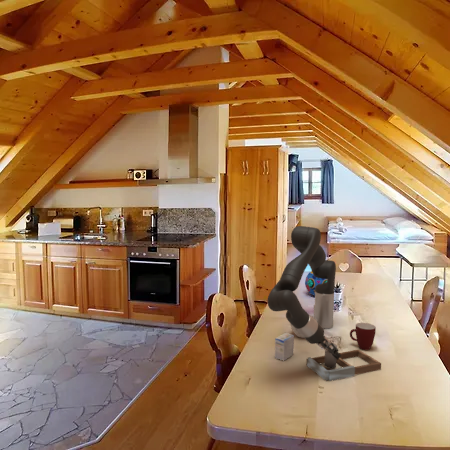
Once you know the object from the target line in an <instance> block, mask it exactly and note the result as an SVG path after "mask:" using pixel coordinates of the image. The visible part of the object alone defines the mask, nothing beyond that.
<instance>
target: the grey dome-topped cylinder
mask: <svg viewBox="0 0 450 450" xmlns="http://www.w3.org/2000/svg"><path fill="white" fill-rule="evenodd" d="M333 344H334V346H335V347H336V348H337V349H338V345H337V344H336V343H333ZM327 347H328V346H327ZM327 347H326V348H327ZM324 356H325V361H324V363H323V366H324V368H325V367H326V369H327V368H328V369H337V363H336V361H337V359H336V358H335V357H334V356H333V355H331V353H330V352H329V351H326V350H324Z"/></svg>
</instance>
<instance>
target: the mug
mask: <svg viewBox="0 0 450 450" xmlns="http://www.w3.org/2000/svg"><path fill="white" fill-rule="evenodd" d="M353 333H355V336H356V338H355V337H353ZM375 336H376V325H374V324H371V323H368V322H357V323H356V324H355V328H354V329H351V330H350V331H349V337H350V339H352V340H353V341H355V342H357V345H358V347H359V349H360V350H363V351H368V350H370V349H371V348H372V346H373V344H374V342H375Z"/></svg>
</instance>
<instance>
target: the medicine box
mask: <svg viewBox="0 0 450 450" xmlns="http://www.w3.org/2000/svg"><path fill="white" fill-rule="evenodd" d="M274 340H275V341H274V359H276V358H277V359H276V360H278V359H280V360H279V361H281V360H283V361H282V362H285V361H286V360H288V359H289V358H290V357H292V356H294V347H295V346H294V345H295V335H293V334H292V333H287V332H284V333H283V334H281V335H279V336H277V337H276V338H275V339H274ZM287 358H288V359H287ZM284 360H285V361H284Z"/></svg>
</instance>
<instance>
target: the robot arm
mask: <svg viewBox="0 0 450 450" xmlns="http://www.w3.org/2000/svg"><path fill="white" fill-rule="evenodd" d="M290 234H291V235H290V240H291V244H292V246H293V247H294V248H295V249H296V250H297V251H298V252H299V253H300V254H299V255H297V256H296V257H295V258H293V259H292V260H290V261H289V262H288V263H287V265H286V266H285V267H284V270H283V272H282V274H281V276H280V278H279V280H278V281H277V283H275V285H273V288H272V289H271V290H270V292H269V293H268V297H267V307H269V309H270V310H271V311H273V312H284V311H286V313H285V317H286V320H287V322H289V324H290V323H291V324H292V325H293V326H294V327H295V328H296V330H297V331H298V332H299V333H300V334H301V335H302V336H303V337H304V338H303V339H305V340H306V342H307V343H308V344H312V345H313V344H316V345H317V346H318V347H320V348H321V349H324V350H323V351H325V350H326V351H329V352H330V353H331V355H333V356H334V357H335V358H336V359H337V360H338V359H339V358H340V357H341V355H340V354H339V353H340V352H339V349H338V347H337V348H336V347H335V346H334V344H335V343H332V342H331V341H330V340H329V339H328V338H327V336H325V329H333V327H334V314H335V313H334V311H335V309H334V307H335V305H334V304H335V283H336V272H337V267H336V266H337V265H336V261H334V260H329V259H328V260H327V254H326V252H325V249H324V248H323V246H321V245H320V243H321V240H322V239H321V238H322V234H321V230H320V229H319V228H317V227H312V226H311V227H310V226H303V225H298V226H295V227H294V228H293V229H292V230H291V233H290ZM308 266H309V267H310V270H311V271H312V272H313V275H314V276H315V277H317V278H322V279H328V281H327V282H326V283H323V284H319V285H316V287H315V296H314V305H313V316H311V315H310V314H309V313H308V312H307V310H305V309H304V308H303V306H302V304H301V302H300V301H299V298H298V296H297V295H296V294H295V291H296V290H297V289H298V287H299V285H300V282H301V281H302V277H303V275H304V273H305V271H306V269H307V267H308ZM314 318H315V319H316V320H317V321H316V320H315V319H314ZM327 346H328V347H327ZM326 347H327V348H326Z"/></svg>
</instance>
